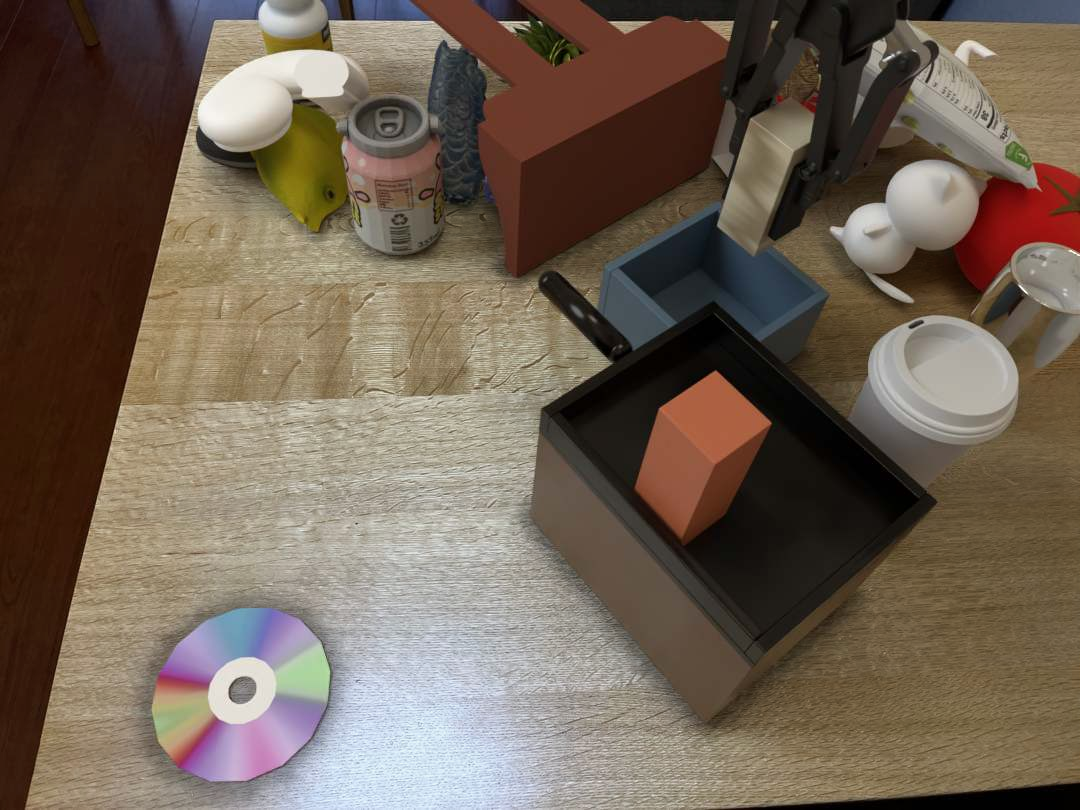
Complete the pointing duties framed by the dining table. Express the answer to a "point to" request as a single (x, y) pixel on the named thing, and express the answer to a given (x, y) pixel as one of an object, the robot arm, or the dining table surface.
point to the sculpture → (277, 96)
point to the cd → (256, 726)
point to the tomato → (1020, 221)
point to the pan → (737, 537)
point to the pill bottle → (295, 27)
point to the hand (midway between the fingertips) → (760, 211)
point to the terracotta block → (699, 455)
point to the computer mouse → (226, 152)
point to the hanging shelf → (587, 119)
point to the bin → (710, 286)
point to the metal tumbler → (1033, 305)
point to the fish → (306, 166)
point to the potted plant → (547, 43)
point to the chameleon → (800, 76)
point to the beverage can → (394, 173)
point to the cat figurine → (911, 219)
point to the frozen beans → (955, 114)
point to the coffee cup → (935, 393)
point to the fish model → (458, 120)
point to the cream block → (765, 173)
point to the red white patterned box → (727, 126)
